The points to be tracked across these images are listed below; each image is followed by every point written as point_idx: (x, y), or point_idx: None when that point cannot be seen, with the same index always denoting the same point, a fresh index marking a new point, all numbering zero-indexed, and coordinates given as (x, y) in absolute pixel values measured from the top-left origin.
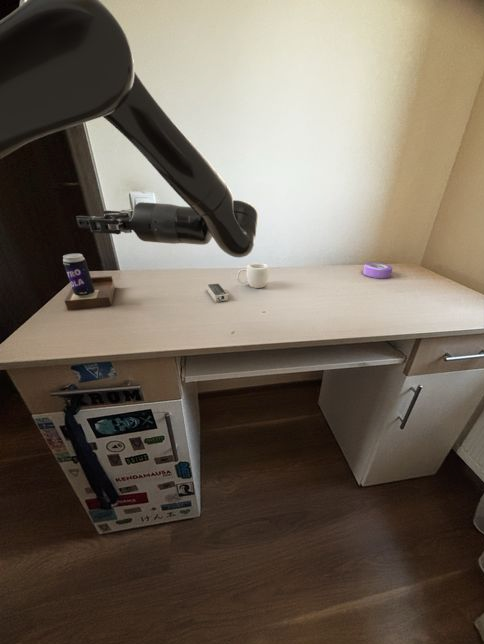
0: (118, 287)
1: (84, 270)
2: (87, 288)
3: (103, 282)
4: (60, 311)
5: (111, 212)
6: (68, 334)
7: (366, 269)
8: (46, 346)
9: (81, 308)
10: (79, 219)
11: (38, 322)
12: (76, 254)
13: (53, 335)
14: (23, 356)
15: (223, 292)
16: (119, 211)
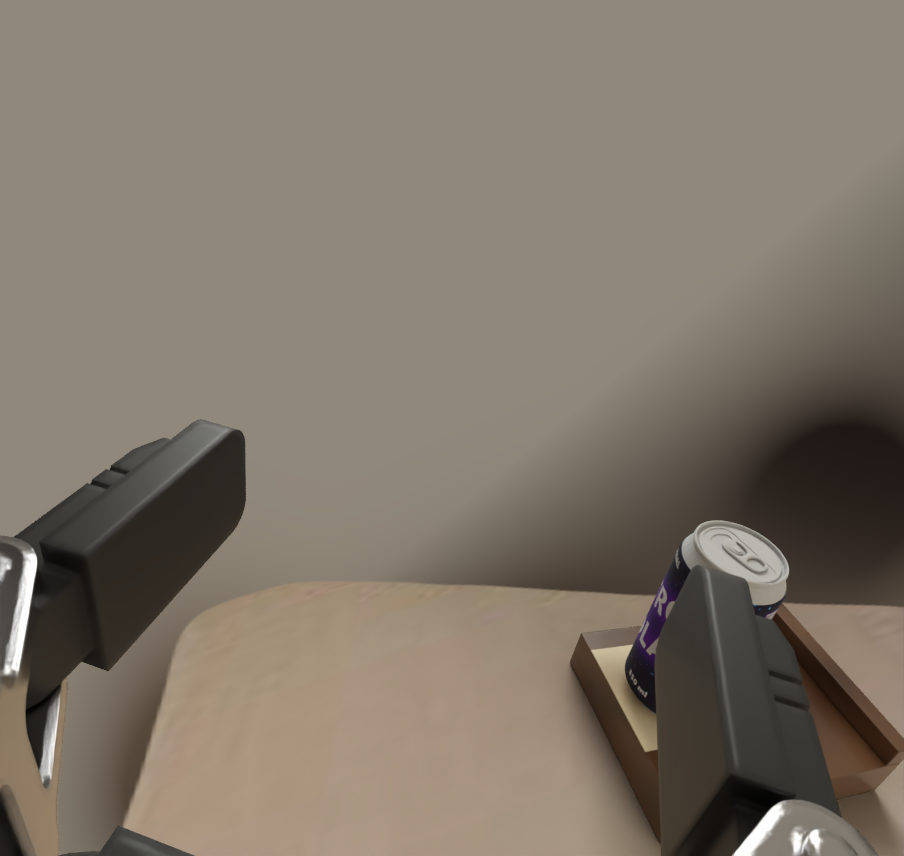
0: (893, 806)
1: None
2: None
3: (840, 724)
4: (555, 640)
5: (709, 664)
6: (348, 738)
7: None
8: (258, 693)
9: (593, 707)
10: (127, 460)
11: (459, 605)
12: (775, 558)
13: (348, 686)
14: (202, 648)
15: None
16: (786, 791)
